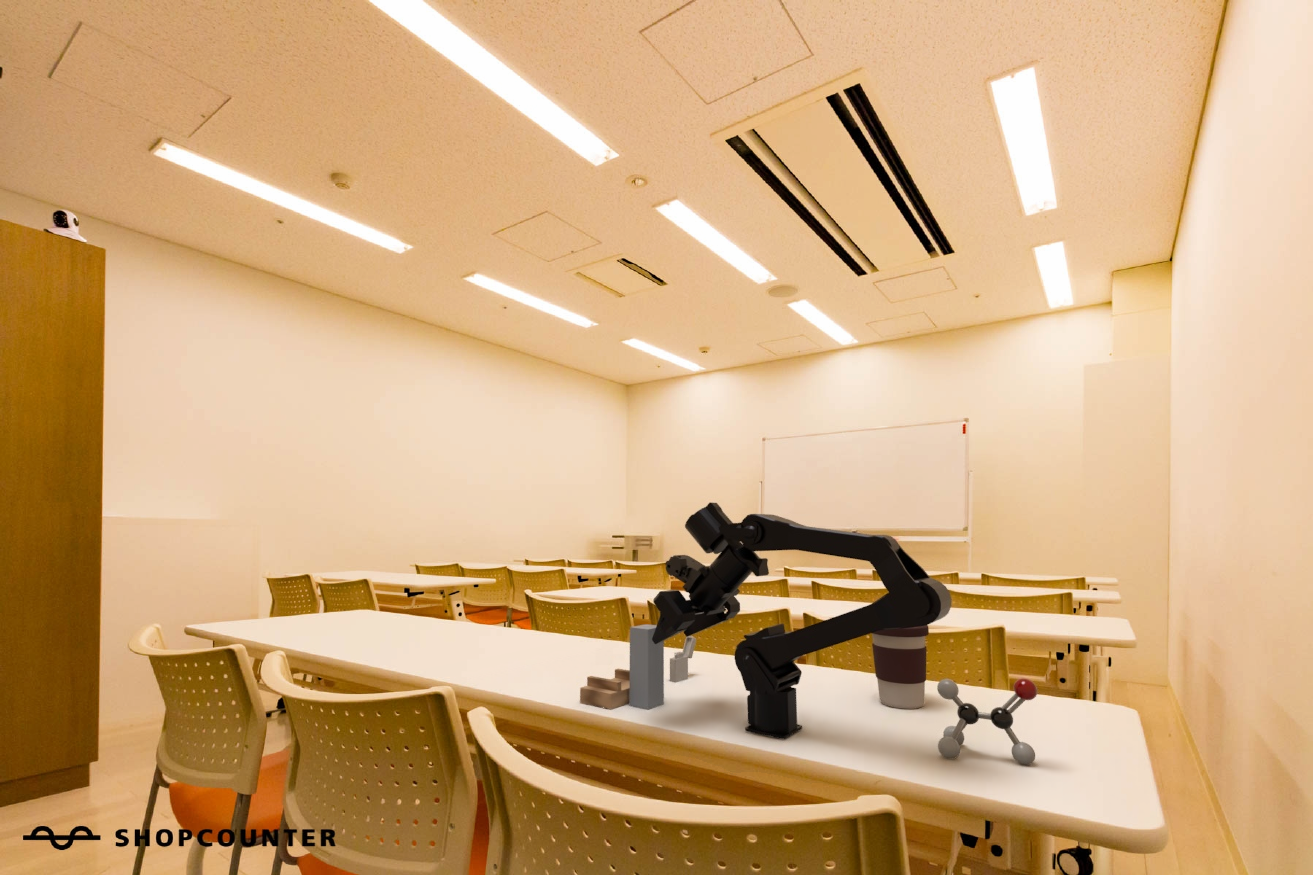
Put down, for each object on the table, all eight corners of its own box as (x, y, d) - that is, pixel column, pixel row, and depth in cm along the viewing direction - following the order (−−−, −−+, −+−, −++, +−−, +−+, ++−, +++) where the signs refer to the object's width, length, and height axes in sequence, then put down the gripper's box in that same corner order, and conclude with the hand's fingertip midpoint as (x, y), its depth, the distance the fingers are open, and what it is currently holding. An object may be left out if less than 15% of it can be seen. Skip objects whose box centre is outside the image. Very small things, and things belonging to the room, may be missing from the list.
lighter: (676, 682, 125) (676, 640, 126) (669, 680, 126) (669, 639, 127) (697, 675, 131) (696, 635, 132) (690, 674, 132) (689, 634, 133)
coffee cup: (946, 708, 107) (940, 616, 109) (899, 714, 103) (895, 619, 106) (903, 694, 116) (899, 609, 118) (859, 699, 112) (855, 612, 115)
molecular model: (945, 741, 90) (940, 663, 92) (1043, 757, 84) (1036, 673, 86) (937, 759, 83) (932, 674, 85) (1043, 777, 77) (1036, 686, 79)
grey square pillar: (663, 703, 110) (663, 626, 111) (647, 709, 106) (648, 629, 108) (645, 700, 112) (645, 624, 114) (629, 705, 108) (629, 627, 110)
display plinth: (653, 694, 116) (653, 671, 116) (610, 709, 106) (610, 684, 107) (624, 688, 120) (624, 666, 120) (580, 702, 110) (580, 678, 111)
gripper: (724, 538, 114) (674, 596, 119) (663, 539, 100) (609, 606, 104) (764, 585, 109) (710, 644, 113) (706, 593, 94) (646, 662, 99)
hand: (670, 637), depth 108 cm, fingers open, 9 cm apart
